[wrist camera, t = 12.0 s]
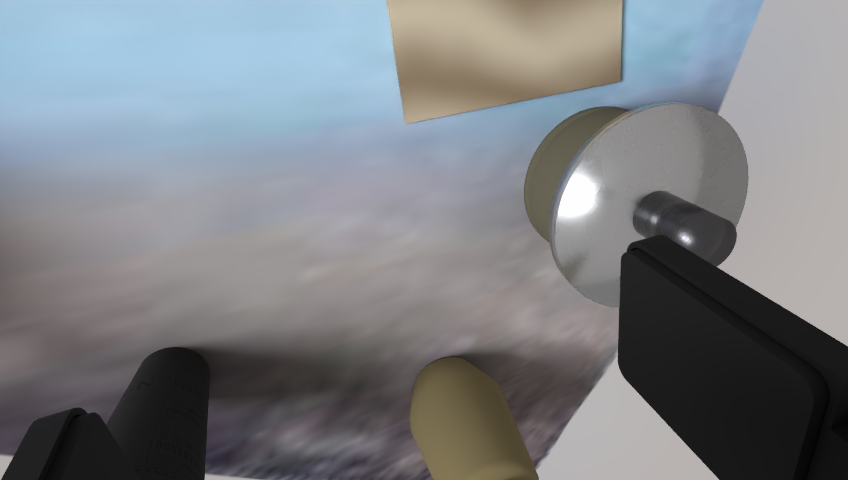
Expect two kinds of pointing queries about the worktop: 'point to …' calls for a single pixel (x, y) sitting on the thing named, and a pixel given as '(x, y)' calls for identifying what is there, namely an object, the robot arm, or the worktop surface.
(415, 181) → the worktop surface
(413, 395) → the squeeze bottle
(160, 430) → the drinking cup
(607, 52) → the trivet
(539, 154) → the can
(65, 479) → the robot arm
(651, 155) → the lid
